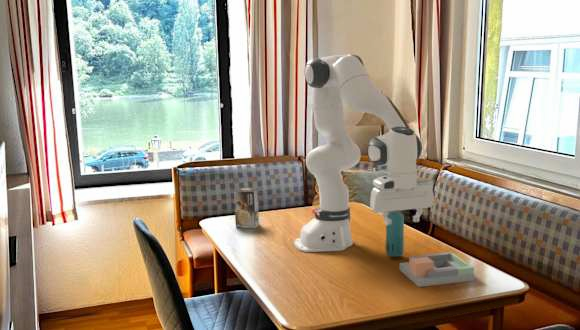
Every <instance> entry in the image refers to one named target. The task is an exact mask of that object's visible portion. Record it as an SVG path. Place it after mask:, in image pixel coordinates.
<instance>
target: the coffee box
mask: <svg viewBox="0 0 580 330" xmlns="http://www.w3.org/2000/svg"><path fill="white" fill-rule="evenodd" d="M233 198H234V199H233V201H234V202H233V203H234V219H235V228H236V227H242V228H241V229H257V228H258V227H259V226H260V217H259V216H260V215H259V213H260V212H259V194H258V188H250V187H249V188H246V187H245V188H244V187H237V188H235V190H234V191H233Z"/></svg>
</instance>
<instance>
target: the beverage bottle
mask: <svg viewBox="0 0 580 330" xmlns="http://www.w3.org/2000/svg"><path fill="white" fill-rule="evenodd" d="M387 217H388V218H389V219H391V220H392V222H391V223H392V224H391V225H385V231H386V232H385V233H386V235H385V253H386V255H388V257H402V256H403V255H404V251H405V246H404V245H405V242H404V241H405V238H404V235H405V234H404V233H405V232H404V228H405V226H404V225H405V224H404V223H405V219H404V218H405V215H404V214H403V213H402V212H401V210H399V211H389V212H388V215H387Z"/></svg>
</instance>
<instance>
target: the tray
mask: <svg viewBox="0 0 580 330" xmlns="http://www.w3.org/2000/svg"><path fill="white" fill-rule="evenodd" d="M419 257H428V258H429V259H431V260H432V261H433V262H434V270H430V271H427V276H424V277H415V276H414V275H413V274H412V273H410V272H409V271H410V258H419ZM408 260H409V261H407V262H406V261H405V262H400V263H399V271H400V272H401V273H403V275H405V276H406V277H407V278H408V279H409V280H410V281H412V282H413V283H414V284H415V285H416V286H417V287H419V288H420V287H428V286H430V287H431V286H438V285H439V286H440V285H447V284H456V283H462V282H463V283H464V282H473V281H474V279H475V278H474V277H475V267H474V266H473V265H471V264H470V263H468V262H467V261H465V260H464V259H462V258H460V257H459V256H458V255H457V254H455V253H454V252H442V253H441V252H439V253H431V254H430V253H429V254H421V255H412V256H409V258H408Z"/></svg>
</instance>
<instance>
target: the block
mask: <svg viewBox="0 0 580 330" xmlns="http://www.w3.org/2000/svg"><path fill="white" fill-rule="evenodd" d="M430 270H434V262H433V261H432V260H431V259H429V258H428V257H419V258H410V271H409V272H410V273H412V274H413V275H414V276H415V277H424V276H427V271H430Z"/></svg>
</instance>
